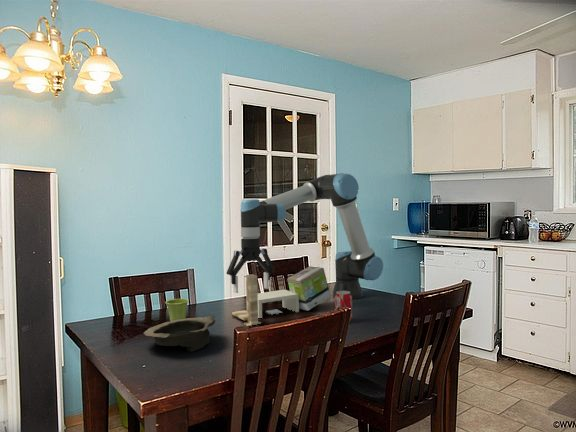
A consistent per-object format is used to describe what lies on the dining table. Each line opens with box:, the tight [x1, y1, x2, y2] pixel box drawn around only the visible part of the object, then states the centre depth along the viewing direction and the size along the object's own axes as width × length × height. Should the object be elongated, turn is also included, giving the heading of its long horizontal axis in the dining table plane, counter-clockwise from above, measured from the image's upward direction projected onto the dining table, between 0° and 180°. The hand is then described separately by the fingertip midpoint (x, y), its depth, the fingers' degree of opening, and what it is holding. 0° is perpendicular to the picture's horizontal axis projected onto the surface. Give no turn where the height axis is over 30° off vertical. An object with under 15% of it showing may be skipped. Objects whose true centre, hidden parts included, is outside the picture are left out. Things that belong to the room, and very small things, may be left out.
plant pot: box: [165, 298, 189, 322], centre depth 185 cm, size 9×9×9 cm
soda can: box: [334, 291, 353, 322], centre depth 181 cm, size 7×7×12 cm
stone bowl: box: [143, 315, 216, 353], centre depth 155 cm, size 25×25×9 cm
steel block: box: [265, 309, 283, 316], centre depth 196 cm, size 6×6×1 cm
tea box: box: [287, 266, 332, 311], centre depth 202 cm, size 15×10×15 cm, turn 130°
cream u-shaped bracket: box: [245, 289, 300, 319], centre depth 197 cm, size 20×12×8 cm, turn 121°
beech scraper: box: [230, 274, 262, 327], centre depth 184 cm, size 16×6×20 cm, turn 31°
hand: (251, 290), depth 178 cm, fingers open, 13 cm apart
